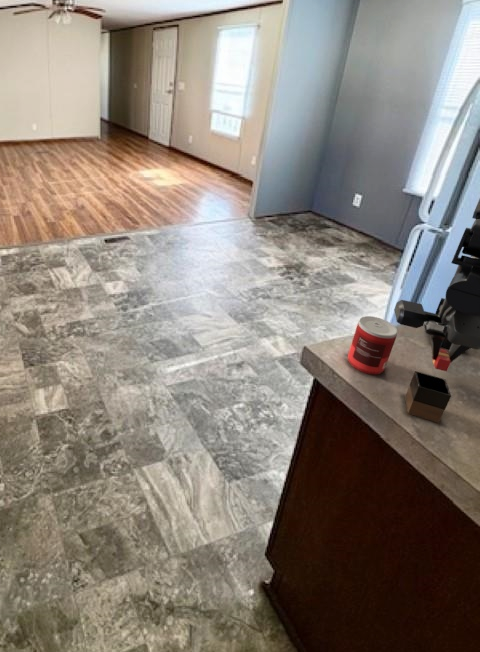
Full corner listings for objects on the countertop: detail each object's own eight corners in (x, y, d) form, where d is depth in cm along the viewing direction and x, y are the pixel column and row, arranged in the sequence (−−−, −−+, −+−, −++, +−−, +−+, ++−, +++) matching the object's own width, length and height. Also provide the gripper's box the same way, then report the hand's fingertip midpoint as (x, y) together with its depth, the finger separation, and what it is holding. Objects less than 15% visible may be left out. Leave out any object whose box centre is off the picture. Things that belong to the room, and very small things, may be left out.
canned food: (373, 354, 104) (386, 316, 99) (391, 376, 96) (405, 337, 92) (341, 352, 104) (352, 314, 100) (356, 374, 97) (369, 334, 93)
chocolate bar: (431, 357, 85) (435, 347, 84) (442, 360, 85) (447, 350, 84) (434, 368, 82) (439, 358, 81) (446, 372, 81) (451, 361, 80)
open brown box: (409, 384, 89) (414, 371, 88) (439, 393, 87) (445, 379, 86) (413, 400, 85) (418, 386, 84) (444, 410, 83) (451, 395, 81)
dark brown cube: (404, 397, 91) (409, 384, 89) (434, 406, 88) (439, 393, 87) (407, 413, 86) (413, 400, 85) (438, 423, 84) (444, 410, 83)
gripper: (414, 298, 74) (388, 369, 80) (557, 329, 66) (516, 404, 72) (406, 272, 83) (383, 338, 89) (531, 297, 75) (496, 366, 82)
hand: (440, 360), depth 83 cm, fingers closed on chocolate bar, 2 cm apart
